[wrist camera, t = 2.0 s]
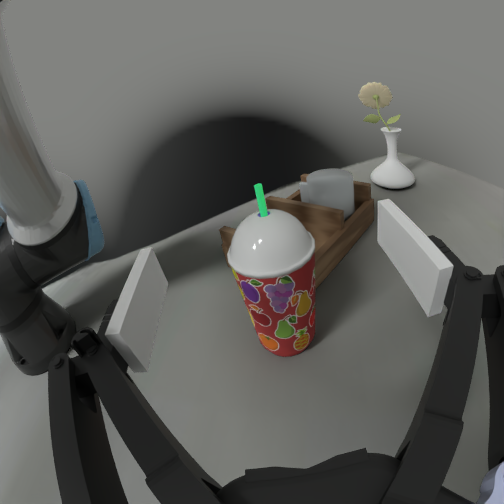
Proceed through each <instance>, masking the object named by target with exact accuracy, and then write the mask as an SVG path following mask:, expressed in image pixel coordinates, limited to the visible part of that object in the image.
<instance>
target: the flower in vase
mask: <svg viewBox="0 0 504 504" xmlns="http://www.w3.org/2000/svg"><path fill="white" fill-rule="evenodd" d="M360 93H361V94H358V96H359V98H360V100H361V101H363V104H364V105H365V106H367V107H370V106H372V108H373V109H378V113H379V116H380V117H379V116H376V115H373V114H371V115H368V116H367V117H366V118H365V119H364V120H363V121H366V122H371V123H377V122H378V121H379V120H380V118H381V120H382V121H383V122H384V124H385V125H386V126H387V124H390V123H394V122H396V121H397V120H398V119H399V118H400V114H399V115H398V116H395V117H392V118H390V119H389V120H388V122H387V124H386V123H385V121H384V120H383V119H382V117H381V115H380V112H379V109H380V107H382V108H383V107H385V106H388V105H389V103H388V102H391V99H392V98H393V97H392V94H391V92H390V90H389V89H388V86H384V85H383V86H382V84H381V83H376V82H373V83H368V84H367V85H364V86H363V87H362V88H361V91H360ZM381 130H382V132H383V133H384V135H385V137H386V141H387V146H388V156H387V159H386V160H385V161H384V162H383V163H382V164H381V165H379V166H378V167H377V168H375V169H374V170H373V172H372V173H371V176H370V178H371V180H372V181H373V182H374V183H375V184H377V185H379V186H382V187H386V188H392V189H399V188H405V187H409V186H411V185H412V184H413V183H414V181H415V177H414V175H413V173H412V172H411V171H410V170H409V169H408V168H407V167H406V166H404V165H403V164H402V163H401V162H400V161H399V159H398V157H397V139H398V136H399V134H400V132H401V129H400V128H396V127H388V126H387V127H384V128H381Z"/></svg>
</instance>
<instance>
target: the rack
mask: <svg viewBox="0 0 504 504" xmlns="http://www.w3.org/2000/svg"><path fill="white" fill-rule="evenodd" d="M308 175H309V174H303V175H301V182H307V180H306V178H307V176H308ZM353 185H354V205H355V212H354V213H353V214H352V215H351V217H350V218H349V219H348V220H347V221H346V222H345V223H344V210H340V209H336V208H331V207H326V206H321V205H316V204H311V203H306V202H302V201H301V194H300V189H299V190H298V191H296V192H295V193H293V194H292V195H291V196H289V197H288V198H286V199H284V198H278V197H273V196H269V197H267V198H266V204H267V209H278V210H282V211H285V212H288V213H289V214H291V215H293V216H294V217H296V218H297V219H298V220H299V221H300V222H301V223H302V224H303V226H304V227H305V229H306V230H307V231H308V232H310V233H311V235H312V236H313V238H314V239H315V252H314V253H315V289H316V288H317V287H318V286H319V285H320V284H321V283H322V282H323V280H324V279H325V278H326V277H327V276H328V275H329V274H330V272H331V271H332V270H333V269H334V268H335V267H336V265H337V264H338V263H339V262H340V261H341V260H342V258H343V257H344V256H345V255H346V254H347V252H348V251H349V250H350V249H351V248H352V246H353V245H354V244H355V243H356V242H357V240H358V239H359V238H360V237H361V236H362V234H363V233H364V232H365V231H366V229H367V228H368V227H369V226H370V224H371V223H372V222H373V221H374V199H371V184H369V183H364V182H358V181H353ZM219 231H220V234H221V238H222V241H223V244H222V248H223V252H224V255H225V258H226V261H227V265H228V267H230V268H232V267H231V266H230V265H229V263H228V258H227V253H228V251H229V248H230V246H231V241H232V238H233V235H234V233H235V231H236V229H233V228H230V227H226V226H224V227H222V228H221V229H219Z"/></svg>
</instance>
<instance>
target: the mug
mask: <svg viewBox="0 0 504 504" xmlns="http://www.w3.org/2000/svg"><path fill="white" fill-rule="evenodd" d="M306 180H307V182H301V183H300V184H299V187H300V194H301V201H302V202H306V203H311V204H316V205H321V206H326V207H331V208H336V209H340V210H344V223H345V222H346V221H347V220H348V219H349V218H350V217H351V215H352V214H353V213H354V212H355V205H354V185H353V174H352V173H351V172H349V171H346V170H343V169H323V170H319V171H315V172H313V173H311V174H309V175H308V176H307V178H306Z"/></svg>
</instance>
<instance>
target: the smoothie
mask: <svg viewBox="0 0 504 504" xmlns="http://www.w3.org/2000/svg"><path fill="white" fill-rule="evenodd" d="M254 187H255V191H256V197H257V201H258V206H259V211H257V212H254V213H252V214H250V215H249V216H247V217H246V218H245V219H244V220H243V221H242V222H241V223H240V224H239V225H238V227H237V228H236V231H235V233H234V235H233V238H232V241H231V246H230V248H229V251H228V253H227V258H228V263H229V265H230V266H231V267H232V271H233V274H234V276H235V279H236V281H237V284H238V286H239V289H240V292H241V294H242V297H243V299H244V302H245V304H246V307H247V309H248V312H249V314H250V317H251V319H252V322H253V324H254V327H255V329H256V332H257V334H258V337H259V339H260V342H261V344H262V345H263V346H264V347H265V349H267V350H269V351H270V352H272V353H274V354H275V355H278V356H283V357H287V356H294V355H297V354H299V353H301V352H302V351H304V350H305V349H306V348H307V347H308V345H309V344H310V342H311V341H312V340H313V338H314V335H315V253H314V252H315V239H314V238H313V236H312V235H311V233H310V232H308V231H307V230H306V229H305V227H304V226H303V224H302V223H301V222H300V221H299V220H298V219H297V218H296V217H294V216H293V215H291V214H289V213H288V212H285V211H282V210H278V209H267V208H266V203H265V199H264V194H263V189H262V184H256V185H254Z"/></svg>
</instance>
